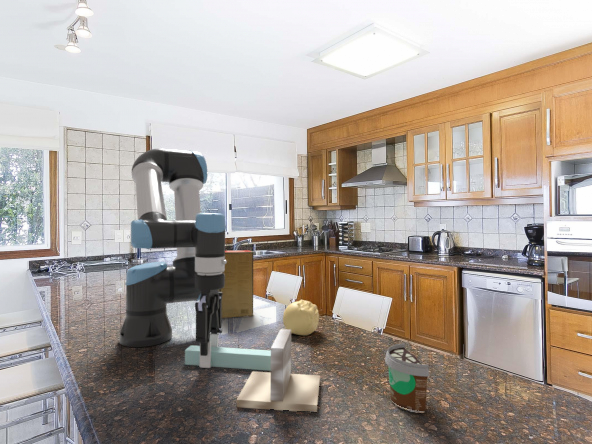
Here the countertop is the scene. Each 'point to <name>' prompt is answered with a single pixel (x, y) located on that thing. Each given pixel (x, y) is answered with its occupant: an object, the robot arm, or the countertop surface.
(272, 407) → the balance stand
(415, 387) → the food container
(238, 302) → the food packaging
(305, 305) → the sculpture
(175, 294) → the robot arm
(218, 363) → the beam
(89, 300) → the countertop surface
